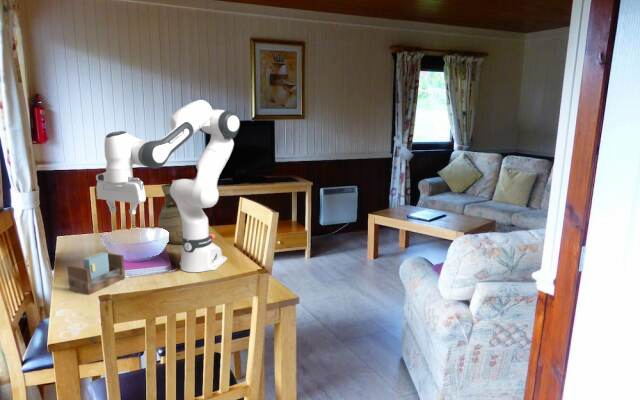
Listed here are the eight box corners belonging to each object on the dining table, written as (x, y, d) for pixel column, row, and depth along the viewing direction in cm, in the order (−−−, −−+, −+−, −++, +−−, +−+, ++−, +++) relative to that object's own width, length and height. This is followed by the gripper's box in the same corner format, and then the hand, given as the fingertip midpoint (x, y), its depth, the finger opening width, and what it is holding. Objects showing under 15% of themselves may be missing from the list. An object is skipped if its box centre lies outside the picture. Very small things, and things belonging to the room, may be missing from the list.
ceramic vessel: (207, 238, 246) (205, 183, 240) (177, 248, 228) (174, 189, 222) (182, 233, 256) (179, 180, 249) (151, 242, 238) (147, 186, 231)
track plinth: (106, 274, 194) (104, 252, 192) (125, 278, 190) (123, 255, 188) (69, 290, 177) (67, 266, 175) (89, 294, 174) (86, 269, 172)
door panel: (104, 275, 188) (102, 252, 186) (110, 276, 186) (108, 253, 184) (85, 283, 180) (83, 258, 178) (92, 284, 178) (90, 260, 176)
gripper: (148, 177, 167) (150, 213, 170) (106, 173, 175) (109, 208, 178) (135, 179, 162) (138, 217, 165) (92, 175, 169) (95, 211, 172)
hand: (122, 212), depth 171 cm, fingers open, 8 cm apart
